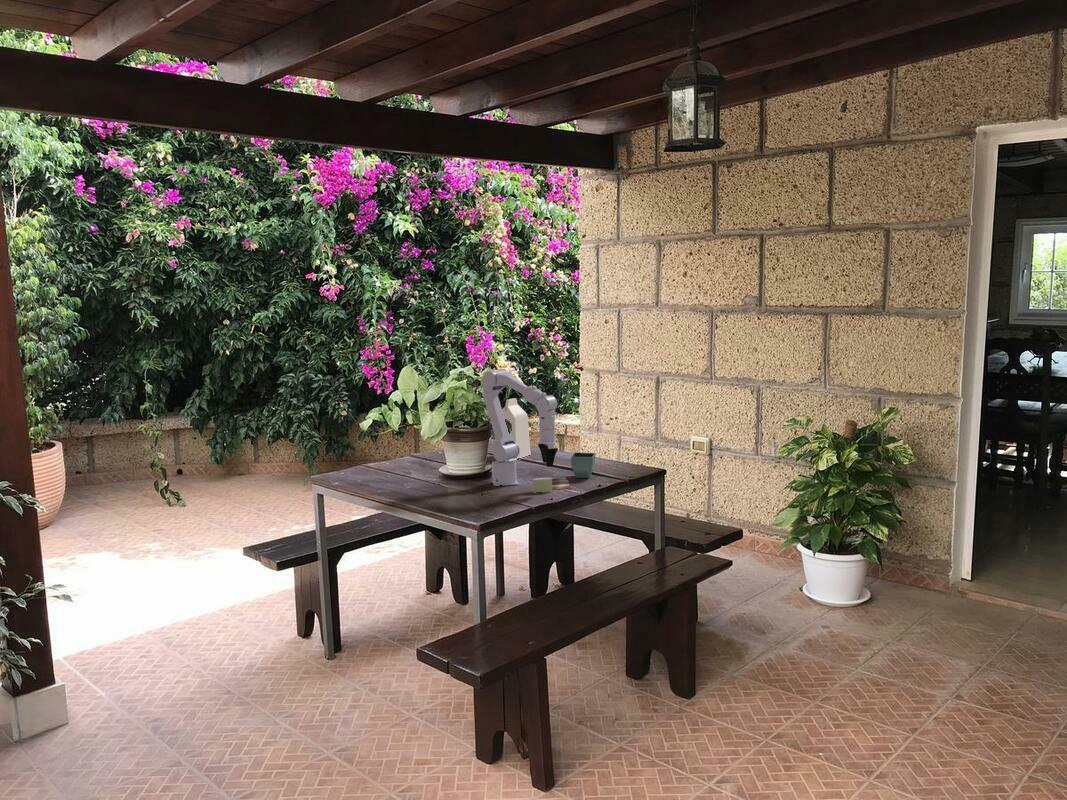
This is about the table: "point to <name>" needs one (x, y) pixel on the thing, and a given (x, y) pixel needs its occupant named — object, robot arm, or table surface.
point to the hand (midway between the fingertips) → (547, 464)
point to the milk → (518, 426)
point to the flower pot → (583, 464)
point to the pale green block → (541, 485)
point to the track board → (560, 483)
